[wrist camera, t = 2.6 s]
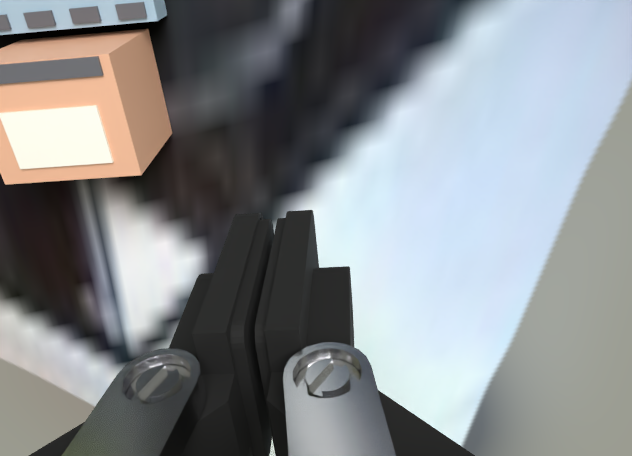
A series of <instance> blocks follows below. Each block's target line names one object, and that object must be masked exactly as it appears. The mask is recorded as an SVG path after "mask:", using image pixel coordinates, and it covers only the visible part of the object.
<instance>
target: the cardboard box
mask: <svg viewBox="0 0 632 456" xmlns="http://www.w3.org/2000/svg"><path fill="white" fill-rule="evenodd" d="M171 134H172V130H171V125H170V121H169V117H168V112H167V108H166V104H165V99H164V95H163V91H162V86H161V82H160V78H159V73H158V69H157V65H156V60H155V56H154V52H153V47H152V43H151V39H150V34H149V30H148V29H139V30H128V31H116V32H105V33H93V34H82V35H71V36H59V37H48V38H37V39H25V40H20V41H18V42H15V43H13V44H10V45H8V46H6V47H3V48H1V49H0V173H1V175H2V178H3V180H4V183H5V185H6V184H21V183H35V182H50V181H65V180H79V179H94V178H109V177H123V176H138V175H142V174H143V172H144V171H145V170H146V168H147V167H148V166H149V164H150V163H151V162H152V160H153V159H154V157H155V156H156V155H157V153H158V152H159V151H160V149H161V148H162V147H163V145H164V144H165V142H166V141H167V140H168V138H169V137H170V136H171Z"/></svg>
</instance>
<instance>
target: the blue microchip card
mask: <svg viewBox="0 0 632 456" xmlns="http://www.w3.org/2000/svg"><path fill="white" fill-rule="evenodd" d="M165 16H167V12H166V7H165V2H164V0H0V35H7V34H18V33H29V32H40V31H51V30H63V29H74V28H85V27H96V26H108V25H119V24H130V23H141V22H153V21H159V20H160V19H162V18H163V17H165Z"/></svg>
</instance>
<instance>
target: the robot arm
mask: <svg viewBox="0 0 632 456" xmlns="http://www.w3.org/2000/svg"><path fill="white" fill-rule="evenodd" d="M272 438H273V444H274V449H275V454H276V456H475V455H473V454H472V453H470V452H469V451H467V450H466V449H464V448H463V447H461V446H460V445H458V444H457V443H455V442H454V441H452V440H451V439H449V438H448V437H446V436H445V435H443V434H442V433H441V432H439V431H438V430H436V429H435V428H433V427H432V426H430V425H429V424H427V423H426V422H424V421H423V420H421V419H420V418H418V417H417V416H415V415H414V414H412V413H411V412H409V411H408V410H407V409H405V408H404V407H402V406H401V405H399V404H398V403H396V402H395V401H393V400H392V399H390V398H389V397H387V396H386V395H384V394H383V393H381V392H380V391H378V389H377V386H376V382H375V378H374V375H373V371H372V368H371V365H370V363H369V361H368V359H367V357H366V356H365V355H364V354H363V353H362V352H361V351H359V350H358V349H356V348H354V329H353V308H352V292H351V278H350V267H328V268H319V263H318V254H317V244H316V234H315V224H314V215H313V211H312V210H305V211H288V212H287V214H286V218H279V219H278V220H277V224H276V229H275V234H274V231H273V224H272V220H271V219H263V216H262V214H261V213H253V214H236V215H235V217H234V219H233V222H232V225H231V228H230V230H229V233H228V236H227V239H226V241H225V244H224V247H223V250H222V252H221V255H220V258H219V261H218V263H217V266H216V269H215V272H214V273H208V274H200V275H199V276H198V278H197V280H196V282H195V285H194V287H193V290H192V292H191V295H190V297H189V300H188V302H187V305H186V307H185V310H184V312H183V315H182V317H181V319H180V322H179V324H178V327H177V329H176V332H175V334H174V337H173V339H172V342H171V344H170V347H169V348H168V349H159V350H155V351H151V352H148V353H146V354H144V355H141V356H139V357H137V358H136V359H134V360H133V361H131V362H130V363H129V364H127V365H126V366H125V367H124V368H123V369H122V370H121V371H120V372H119V374H118V375H117V376H116V378H115V379H114V381H113V382H112V383H111V385H110V386H109V388H108V389H107V391H106V392H105V394H104V395H103V396H102V398H101V399H100V401H99V402H98V404H97V405H96V407H95V408H94V410H93V411H92V413H91V414H90V415H89V417H88V418H87V420H86V421H85V422H84V423H82V424H81V425H79V426H77V427H76V428H74V429H72V430H71V431H69V432H67V433H66V434H64V435H62V436H61V437H59V438H57V439H56V440H54V441H52V442H51V443H49V444H47V445H46V446H44V447H42V448H41V449H39V450H38V451H36V452H34V453H32V454H31V455H29V456H269V454H270V447H271V440H272Z"/></svg>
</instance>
